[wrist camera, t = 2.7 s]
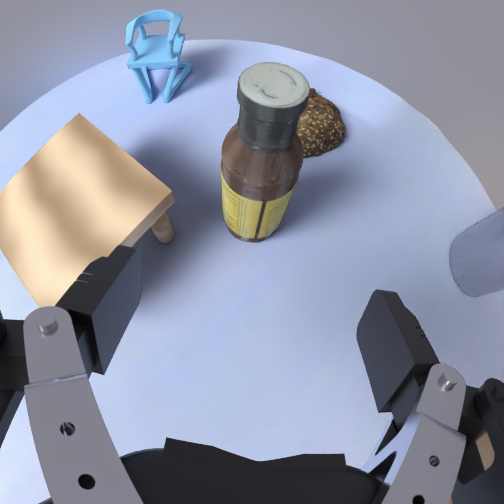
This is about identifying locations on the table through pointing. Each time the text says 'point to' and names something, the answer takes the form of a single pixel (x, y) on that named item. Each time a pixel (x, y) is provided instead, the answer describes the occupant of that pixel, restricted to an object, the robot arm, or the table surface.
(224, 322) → the table surface
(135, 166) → the small wooden side table
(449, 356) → the table surface
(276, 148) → the sauce bottle
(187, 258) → the table surface
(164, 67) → the chair
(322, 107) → the bread roll
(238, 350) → the table surface
